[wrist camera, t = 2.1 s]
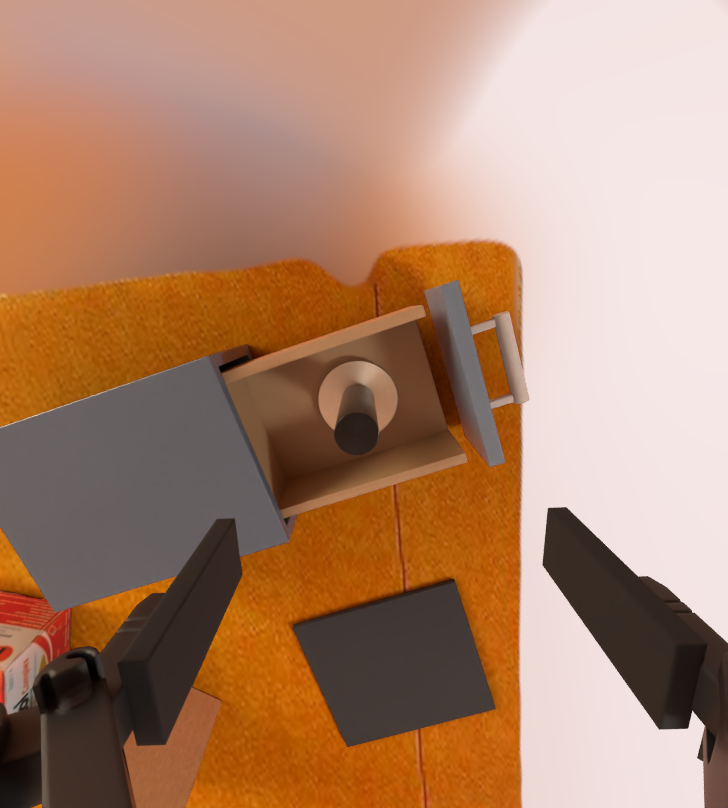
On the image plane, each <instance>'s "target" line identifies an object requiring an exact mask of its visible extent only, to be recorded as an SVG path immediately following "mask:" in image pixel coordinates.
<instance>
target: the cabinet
mask: <svg viewBox="0 0 728 808" xmlns="http://www.w3.org/2000/svg"><path fill="white" fill-rule="evenodd" d="M250 360H253V358H252V355H251V353H250V350H249V348H248V345H247V344H246V345H242V346H239V347H236V348H232V349H229V350H225V351H222V352H219V353H215V354H212V355H209V356H206V357H203V358H200V359H197V360H194V361H191V362H188V363H185V364H182V365H179V366H177V367H174V368H171V369H168V370H165V371H162V372H159V373H156V374H153V375H150V376H147V377H145V378H142V379H139V380H136V381H133V382H130V383H127V384H124V385H121V386H118V387H115V388H113V389H110V390H107V391H104V392H101V393H98V394H95V395H92V396H89V397H86V398H84V399H81V400H78V401H75V402H72V403H69V404H66V405H63V406H60V407H57V408H54V409H52V410H49V411H46V412H43V413H40V414H37V415H34V416H31V417H28V418H25V419H22V420H20V421H17V422H14V423H11V424H8V425H5V426H2V427H0V528H1V529H2V531H3V532H4V534H5V535H6V537H7V538H8V540H9V542H10V543H11V545H12V546H13V548H14V549H15V551H16V553H17V554H18V556H19V557H20V559H21V560H22V562H23V564H24V565H25V567H26V568H27V570H28V571H29V573H30V574H31V576H32V578H33V579H34V581H35V582H36V584H37V585H38V587H39V589H40V590H41V592H42V593H43V595H44V596H45V598H46V600H47V601H48V603H49V604H50V606H51V607H52V609H53V610H54V612H58V611H62V610H65V609H68V608H72V607H75V606H78V605H82V604H85V603H88V602H92V601H95V600H98V599H102V598H105V597H108V596H111V595H115V594H118V593H121V592H125V591H128V590H131V589H135V588H138V587H141V586H145V585H148V584H151V583H155V582H158V581H161V580H165V579H168V578H171V577H175V576H177V575H178V574H179V572H180V571H181V570H182V568H183V567H184V565H185V564H186V562H187V561H188V560H189V558H190V557H191V555H192V554H193V552H194V551H195V549H196V548H197V547H198V545H199V544H200V542H201V541H202V539H203V538H204V536H205V535H206V534H207V532H208V531H209V529H210V528H211V526H212V525H213V523H214V522H215V521H216V519H226V518H235V523H236V530H237V538H238V546H239V553H240V557H241V556H244V555H248V554H251V553H254V552H258V551H261V550H264V549H267V548H271V547H274V546H277V545H281V544H284V543H287V542H289V539H290V536H291V534H292V530H293V527H294V524H295V521H296V518H297V514H296V515H293V516H290V517H287V518H283V516H282V514H281V512H280V509H279V507H278V505H277V502H276V500H275V498H274V495H273V493H272V491H271V488H270V486H269V484H268V481H267V479H266V477H265V475H264V472H263V470H262V468H261V465H260V463H259V461H258V458H257V456H256V454H255V451H254V449H253V447H252V444H251V442H250V440H249V437H248V435H247V433H246V430H245V428H244V426H243V423H242V421H241V419H240V416H239V414H238V412H237V409H236V407H235V405H234V402H233V400H232V398H231V395H230V393H229V391H228V388H227V386H226V384H225V381H224V379H223V377H222V374H221V372H222V371H224V370H226V369H228V368H231V367H233V366H235V365H238V364H241V363H244V362H247V361H250Z"/></svg>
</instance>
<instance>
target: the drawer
mask: <svg viewBox="0 0 728 808" xmlns="http://www.w3.org/2000/svg"><path fill="white" fill-rule="evenodd" d="M424 293H425V296H426V300H427V303H428V307H429V310H430V314H431V317H432V321H433V325H434V328H435V332H436V335H437V339H438V342H439V346H440V350H441V353H442V357H443V360H444V364H445V367H446V371H447V374H448V378H449V382H450V385H451V389H452V392H453V396H454V399H455V403H456V406H457V410H458V414H459V417H460V421H461V424H462V428H463V431H464V435H465V437H466V439H467V440H468V441H469V442H470V443H471V445H472V446H473V447H474V448H475V450H476V451H477V452H478V453H479V454H480V456H481V457H482V458H483V459H484V461H485V462H486V463H487V464H488V465H489V467H492V466H495V465H498V464H502V463H505V460H504V456H503V452H502V448H501V444H500V440H499V436H498V432H497V429H496V425H495V421H494V417H493V413H492V409H493V408H496V407H499V406H502V405H505V404H509V403H512V402H513V403H515V404H520V403H525V402H527V401H528V400H529V396H528V392H527V387H526V383H525V379H524V374H523V370H522V366H521V361H520V357H519V353H518V348H517V344H516V340H515V335H514V331H513V327H512V322H511V318H510V314H509V311H506V312H501V313H498V314H495V315H493V316H492V318H493V319H490V320H487V321H484V322H481V323H478V324H475V325H472V326H470V324H469V320H468V316H467V312H466V308H465V305H464V301H463V297H462V293H461V289H460V285H459V281H458V280H456V281H453V282H450V283H447V284H443V285H440V286H437V287H434V288H431V289H428V290H425V291H424ZM425 316H426V313H425V310H424V306H423V305H416V306H409V307H406V308H403V309H400V310H397V311H394V312H391V313H388V314H385V315H383V316H380V317H377V318H374V319H371V320H368V321H365V322H362V323H359V324H356V325H353V326H350V327H347V328H344V329H341V330H338V331H335V332H333V333H330V334H327V335H324V336H321V337H318V338H315V339H312V340H309V341H306V342H303V343H300V344H297V345H294V346H291V347H288V348H285V349H283V350H280V351H277V352H274V353H271V354H268V355H265V356H262V357H259V358H256V359H253V360H250V361H247V362H244V363H241V364H238V365H235V366H233V367H231V368H228V369H226V370H224V371H222V372H221V374H222V377H223V379H224V381H225V384H226V386H227V388H228V391H229V393H230V395H231V398H232V400H233V402H234V405H235V407H236V409H237V412H238V414H239V416H240V419H241V421H242V423H243V426H244V428H245V430H246V433H247V435H248V437H249V440H250V442H251V444H252V447H253V449H254V451H255V454H256V456H257V458H258V461H259V463H260V465H261V468H262V470H263V472H264V475H265V477H266V479H267V481H268V484H269V486H270V488H271V491H272V493H273V495H274V498H275V500H276V502H277V505H278V507H279V509H280V512H281V514H282V516H283V518H287V517H290V516H293V515H296V514H300V513H303V512H306V511H309V510H313V509H316V508H319V507H322V506H326V505H329V504H332V503H335V502H339V501H342V500H345V499H349V498H352V497H355V496H358V495H362V494H365V493H368V492H371V491H375V490H378V489H381V488H384V487H388V486H391V485H394V484H398V483H401V482H404V481H407V480H411V479H414V478H417V477H420V476H424V475H427V474H430V473H433V472H437V471H440V470H443V469H446V468H450V467H453V466H456V465H460V464H463V463H466V462H467V458H466V454H465V452H464V451H463V449H462V448H461V447H460V445H459V444H458V443H457V441H456V440H455V438H454V437H453V436H452V434H451V433H450V431H449V430H448V427H447V423H446V420H445V416H444V413H443V410H442V406H441V403H440V399H439V396H438V392H437V389H436V385H435V382H434V379H433V375H432V372H431V368H430V365H429V361H428V358H427V355H426V351H425V348H424V344H423V341H422V337H421V334H420V330H419V327H418V324H417V319H420V318H423V317H425ZM494 327H495V330H496V334H497V338H498V343H499V347H500V351H501V355H502V359H503V363H504V367H505V371H506V376H507V380H508V384H509V388H510V392H511V394H506V395H503V396H500V397H497V398H494V399H491V400H489V398H488V394H487V390H486V386H485V382H484V378H483V374H482V370H481V367H480V363H479V359H478V355H477V351H476V347H475V343H474V339H473V336H472V335H473V334H476V333H479V332H482V331H485V330H488V329H491V328H494ZM350 360H365V361H369V362H372V363H375V364H377V365H378V366H380V367H382V368H383V369H384V370H385V371H386V372H387V373H388V374H389V375H390V377H391V378H392V380H393V382H394V384H395V386H396V390H397V395H398V404H397V409H396V413H395V415H394V417H393V419H392V420H391V422H390V423H389V424H388V425H387V426H386V427H385V428H384V429H383V430H382V431H380V432H379V439H378V442H377V444H376V446H375V447H374V448H373V449H372V450H371V451H370V452H368V453H366V454H363V455H350V454H348V453H346V452H344V451H342V450H341V449H340V448H339V447H338V445H337V444H336V441H335V438H334V430H333V429H332V428H331V427H330V426H328V424H327V423H326V422H325V420H324V419H323V417H322V415H321V413H320V410H319V405H318V393H319V389H320V386H321V383H322V381H323V380H324V378H325V376H326V375H327V374H328V373H329V372H330V371H331V370H332V369H333V368H334V367H336V366H337V365H339V364H341V363H343V362H346V361H350Z"/></svg>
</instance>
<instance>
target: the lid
mask: <svg viewBox="0 0 728 808" xmlns="http://www.w3.org/2000/svg"><path fill="white" fill-rule="evenodd" d="M397 404H398V395H397V390H396V386H395V384H394V382H393V380H392V378H391V377H390V375H389V374H388V373H387V372H386V371H385V370H384V369H383V368H382V367H380V366H378V365H377V364H375V363H372V362H369V361H365V360H350V361H346V362H343V363H341V364H339V365H337V366H336V367H334V368H333V369H332V370H331V371H330V372H329V373H328V374H327V375H326V376H325V378H324V380H323V381H322V383H321V386H320V389H319V393H318V405H319V410H320V413H321V415H322V417H323V419H324V420H325V422H326V423H327V424H328V426H330V427H331V428H332V429H333V430H334V438H335V441H336V444H337V445H338V447H339V448H340V449H341V450H342V451H344V452H346V453H348V454H350V455H363V454H366V453H368V452H370V451H371V450H372V449H373V448H374V447H375V446H376V444H377V442H378V439H379V432H380V431H382V430H383V429H384V428H385V427H386V426H387V425H388V424H389V423H390V422H391V420H392V419H393V417H394V415H395V413H396V409H397Z"/></svg>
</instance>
